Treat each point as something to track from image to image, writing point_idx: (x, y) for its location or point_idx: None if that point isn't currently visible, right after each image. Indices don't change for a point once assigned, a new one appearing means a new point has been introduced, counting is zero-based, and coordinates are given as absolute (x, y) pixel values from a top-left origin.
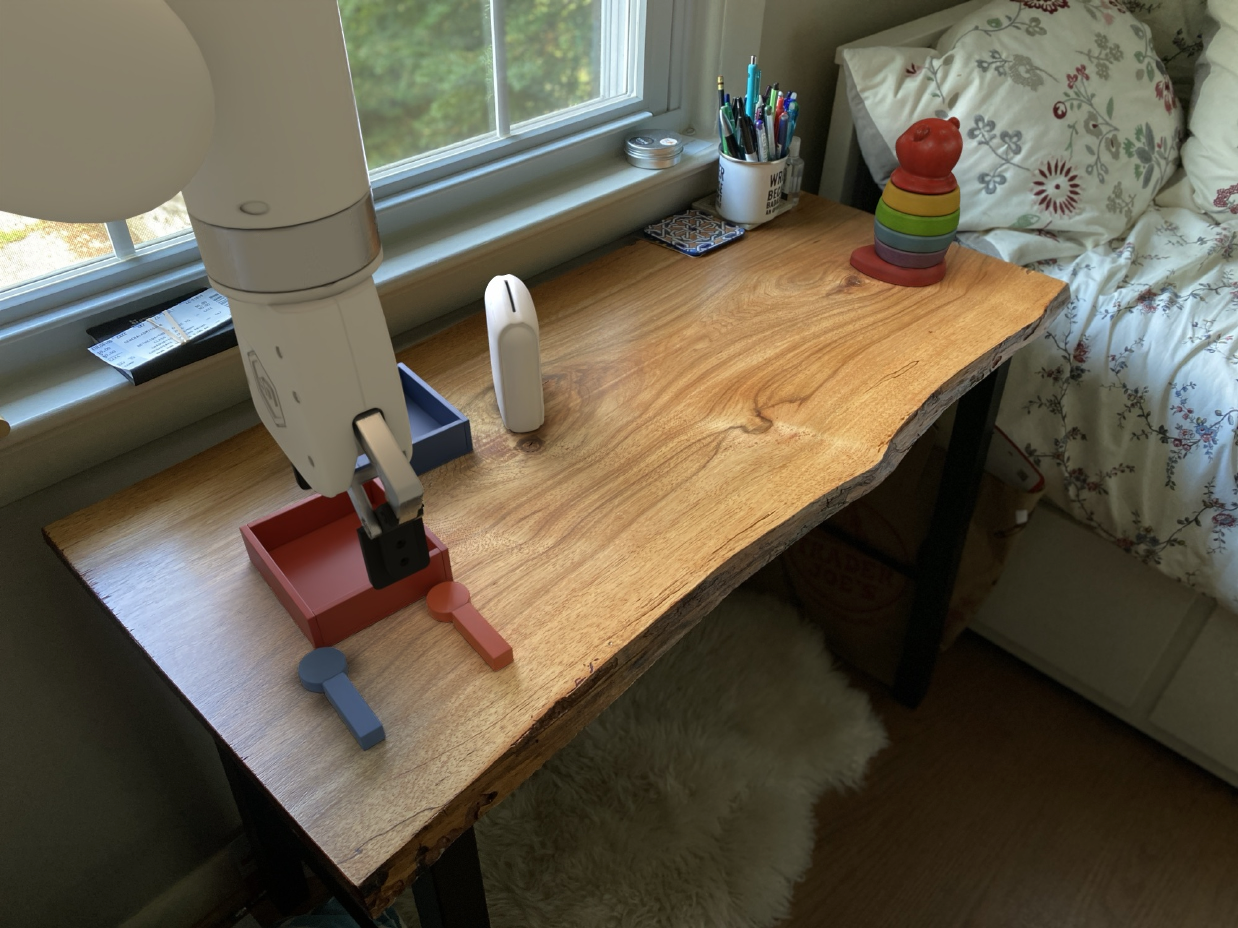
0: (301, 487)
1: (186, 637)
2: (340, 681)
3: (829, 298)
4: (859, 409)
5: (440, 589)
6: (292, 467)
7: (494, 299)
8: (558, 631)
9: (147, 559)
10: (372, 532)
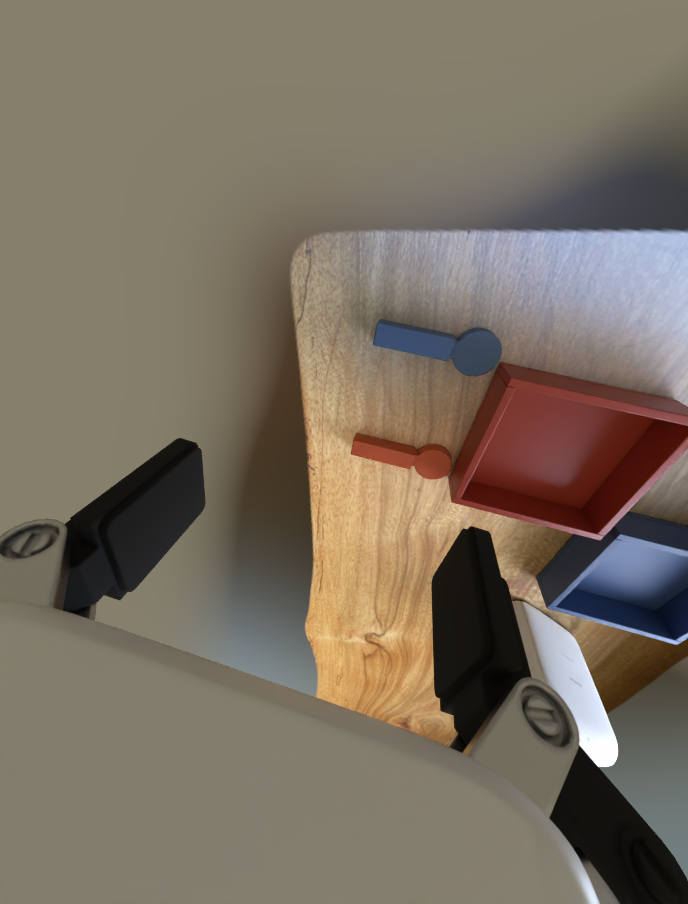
0: (472, 530)
1: (674, 279)
2: (441, 352)
3: (407, 715)
4: (336, 656)
5: (443, 467)
6: (496, 566)
7: (586, 746)
8: (349, 479)
9: None
10: (2, 536)
